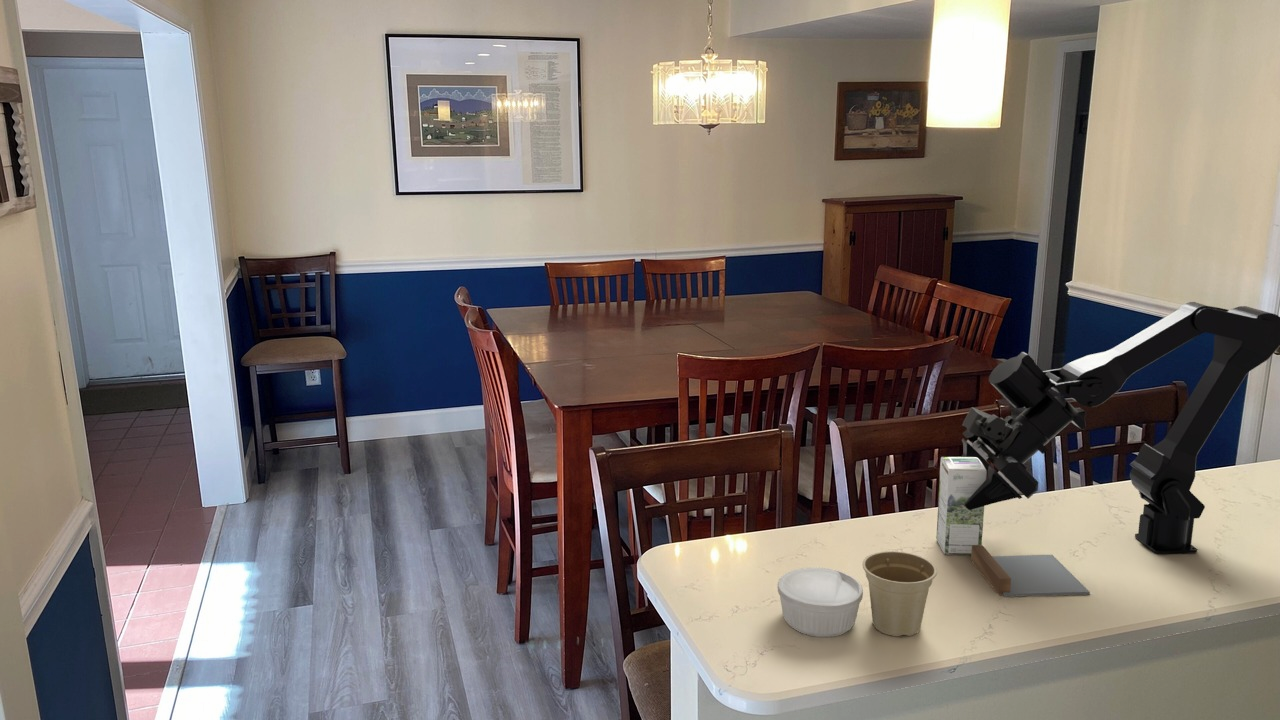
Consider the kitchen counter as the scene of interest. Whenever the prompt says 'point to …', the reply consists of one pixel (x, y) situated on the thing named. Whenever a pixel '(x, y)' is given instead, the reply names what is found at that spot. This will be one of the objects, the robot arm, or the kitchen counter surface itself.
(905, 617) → the flower pot
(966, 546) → the syrup box
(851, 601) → the ramekin
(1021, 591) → the seat mat
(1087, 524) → the kitchen counter surface
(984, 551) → the stop block
